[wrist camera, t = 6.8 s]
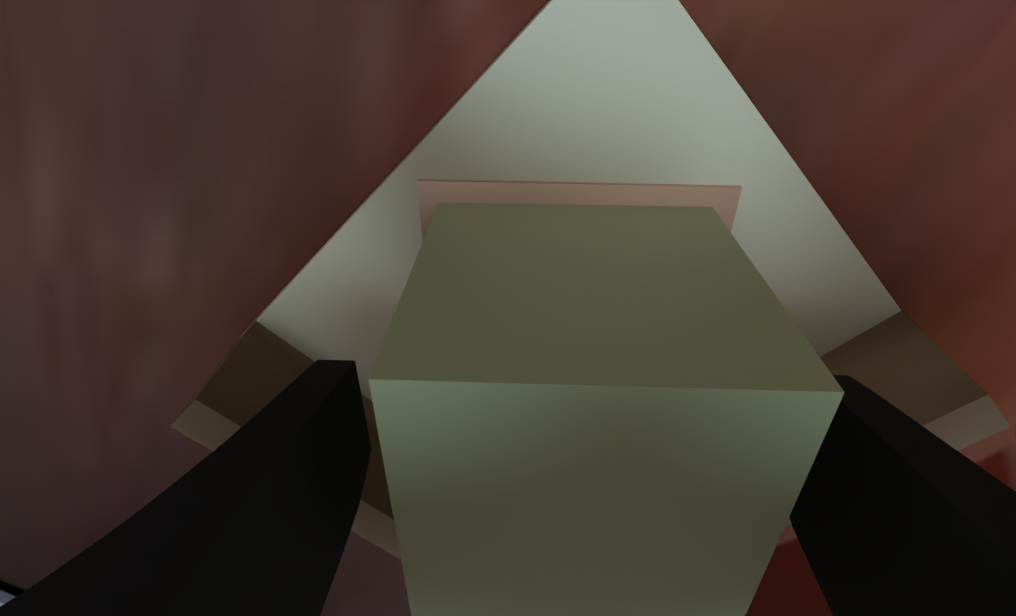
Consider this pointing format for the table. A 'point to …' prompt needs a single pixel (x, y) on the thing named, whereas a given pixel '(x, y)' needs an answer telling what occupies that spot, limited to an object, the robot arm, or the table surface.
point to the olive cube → (592, 413)
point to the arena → (592, 181)
